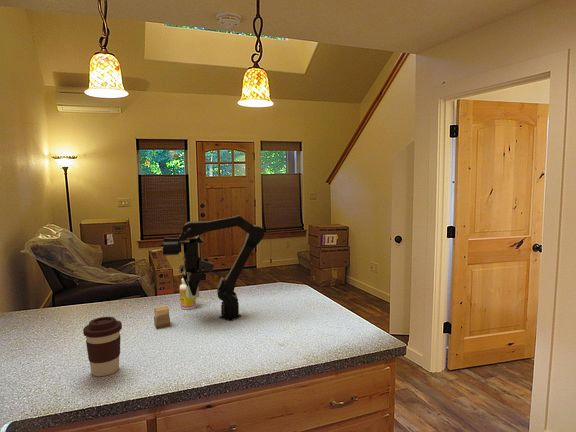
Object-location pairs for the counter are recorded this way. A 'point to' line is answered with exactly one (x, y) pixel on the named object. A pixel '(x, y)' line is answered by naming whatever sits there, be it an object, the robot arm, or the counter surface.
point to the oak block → (161, 312)
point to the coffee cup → (103, 345)
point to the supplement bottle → (184, 301)
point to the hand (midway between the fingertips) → (192, 294)
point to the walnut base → (161, 323)
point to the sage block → (189, 294)
